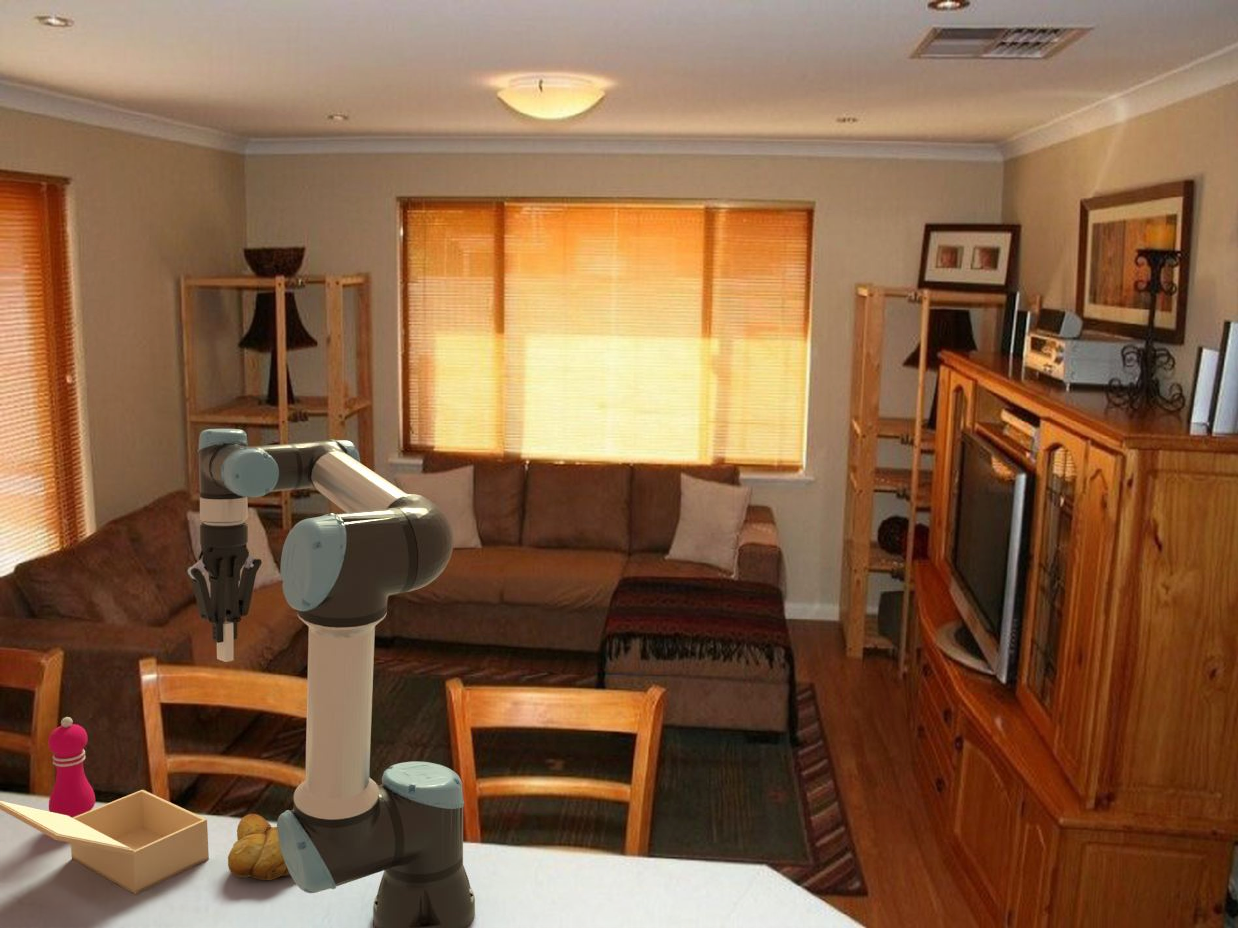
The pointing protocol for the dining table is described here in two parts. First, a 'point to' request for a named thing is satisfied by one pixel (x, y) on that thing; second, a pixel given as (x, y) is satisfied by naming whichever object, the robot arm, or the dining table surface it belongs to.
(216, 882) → the dining table surface
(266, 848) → the bread roll
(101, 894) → the dining table surface
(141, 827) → the mailer box
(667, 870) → the dining table surface
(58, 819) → the lid
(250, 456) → the robot arm
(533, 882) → the dining table surface
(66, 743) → the pepper mill
